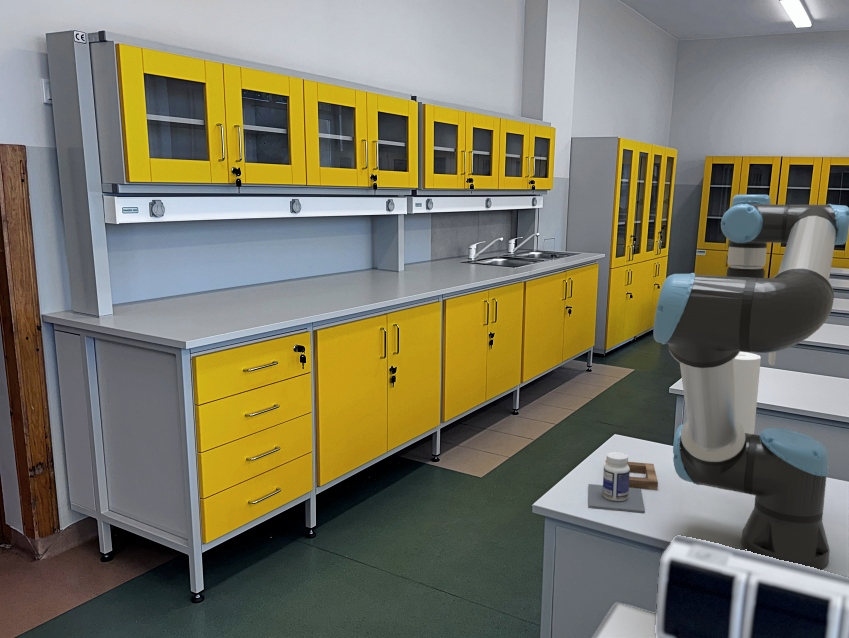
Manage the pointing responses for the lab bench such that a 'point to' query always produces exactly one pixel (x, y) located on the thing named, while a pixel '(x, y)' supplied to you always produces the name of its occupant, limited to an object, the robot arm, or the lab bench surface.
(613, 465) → the pill bottle
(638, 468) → the wooden square frame
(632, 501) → the rubber mat
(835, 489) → the lab bench surface
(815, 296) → the robot arm
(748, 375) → the cylinder container
